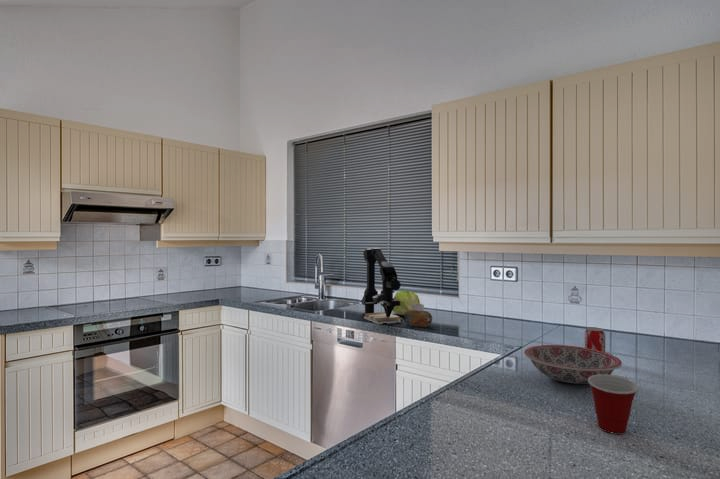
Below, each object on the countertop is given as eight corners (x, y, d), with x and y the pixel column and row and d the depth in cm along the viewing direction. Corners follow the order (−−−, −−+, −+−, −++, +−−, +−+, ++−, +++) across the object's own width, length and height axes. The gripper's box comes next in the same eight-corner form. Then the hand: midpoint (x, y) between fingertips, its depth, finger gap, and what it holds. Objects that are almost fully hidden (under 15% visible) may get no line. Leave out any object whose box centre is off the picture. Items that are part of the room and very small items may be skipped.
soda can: (597, 363, 163) (597, 331, 163) (580, 358, 169) (580, 327, 169) (609, 360, 166) (609, 329, 166) (592, 356, 172) (592, 326, 172)
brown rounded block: (403, 325, 232) (403, 309, 232) (406, 324, 235) (406, 308, 235) (430, 328, 225) (431, 311, 225) (432, 326, 228) (432, 310, 228)
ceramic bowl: (620, 403, 124) (621, 375, 124) (515, 384, 140) (515, 359, 140) (622, 375, 149) (622, 352, 149) (532, 362, 164) (532, 341, 164)
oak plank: (368, 317, 246) (368, 314, 246) (388, 315, 252) (388, 313, 252) (378, 321, 234) (378, 318, 234) (399, 319, 239) (399, 316, 239)
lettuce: (394, 321, 247) (398, 296, 245) (388, 308, 271) (392, 286, 270) (423, 325, 248) (427, 301, 247) (415, 312, 273) (419, 290, 271)
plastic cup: (590, 435, 104) (590, 385, 104) (584, 417, 114) (585, 372, 114) (643, 443, 100) (643, 391, 100) (632, 424, 110) (632, 377, 110)
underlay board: (364, 318, 250) (364, 313, 250) (385, 316, 256) (385, 312, 256) (377, 324, 234) (377, 319, 234) (400, 322, 239) (400, 317, 239)
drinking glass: (419, 324, 233) (419, 306, 233) (409, 322, 238) (409, 304, 237) (426, 322, 238) (426, 304, 238) (416, 321, 243) (416, 303, 242)
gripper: (367, 287, 243) (367, 315, 243) (382, 291, 226) (382, 321, 226) (385, 286, 248) (385, 314, 248) (400, 290, 231) (401, 319, 231)
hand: (387, 317), depth 238 cm, fingers closed, pressing on oak plank
